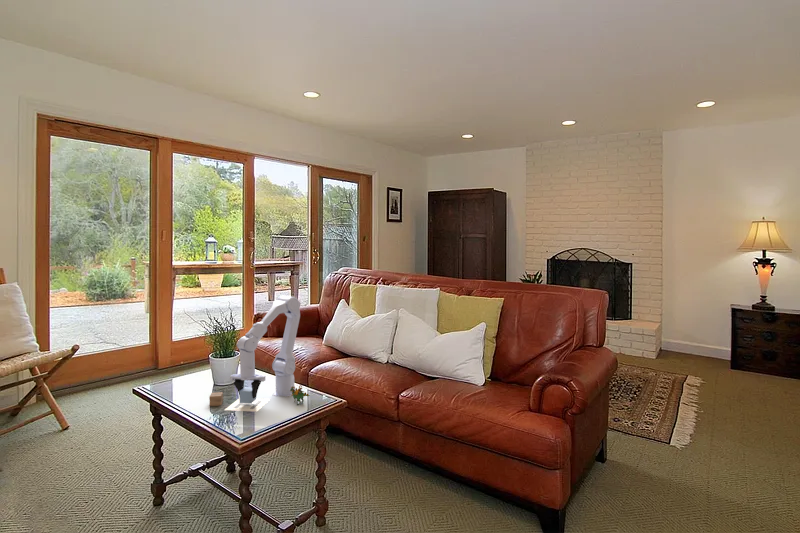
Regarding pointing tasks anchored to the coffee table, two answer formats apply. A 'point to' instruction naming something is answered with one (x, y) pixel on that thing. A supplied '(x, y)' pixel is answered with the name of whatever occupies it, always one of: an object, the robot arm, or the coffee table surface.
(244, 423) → the coffee table surface
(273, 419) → the coffee table surface
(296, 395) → the figurine
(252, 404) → the letter mat
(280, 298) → the robot arm
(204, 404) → the coffee table surface
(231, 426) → the coffee table surface
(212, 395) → the walnut block
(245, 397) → the blue cube
